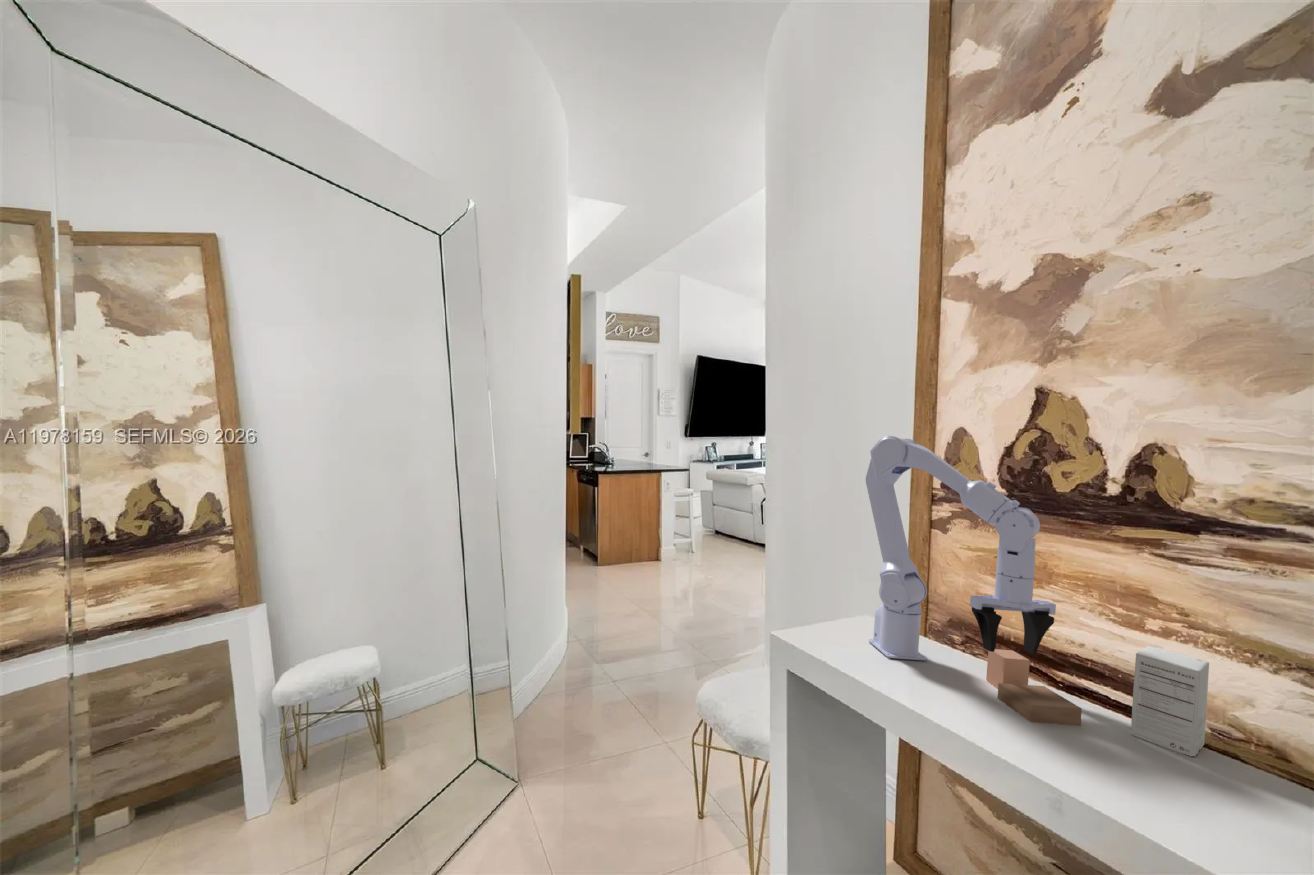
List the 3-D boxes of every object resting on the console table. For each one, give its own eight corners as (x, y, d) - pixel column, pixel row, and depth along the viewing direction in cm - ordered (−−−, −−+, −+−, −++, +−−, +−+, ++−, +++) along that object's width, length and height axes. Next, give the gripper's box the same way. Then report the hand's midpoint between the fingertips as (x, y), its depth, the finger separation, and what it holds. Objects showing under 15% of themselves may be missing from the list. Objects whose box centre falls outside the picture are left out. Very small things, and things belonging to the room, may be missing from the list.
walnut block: (997, 700, 94) (998, 683, 94) (1042, 703, 94) (1044, 686, 94) (1030, 724, 86) (1032, 705, 86) (1080, 727, 86) (1081, 708, 86)
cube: (986, 681, 101) (988, 648, 102) (1009, 683, 102) (1012, 650, 102) (1002, 692, 97) (1004, 658, 97) (1027, 694, 97) (1029, 660, 97)
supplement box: (1141, 723, 89) (1147, 644, 89) (1205, 746, 83) (1211, 661, 83) (1128, 734, 85) (1134, 652, 85) (1194, 759, 79) (1201, 670, 79)
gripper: (989, 577, 95) (984, 656, 95) (1071, 583, 96) (1065, 662, 96) (965, 568, 102) (960, 642, 102) (1041, 574, 103) (1036, 647, 103)
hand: (1009, 651), depth 99 cm, fingers open, 7 cm apart
